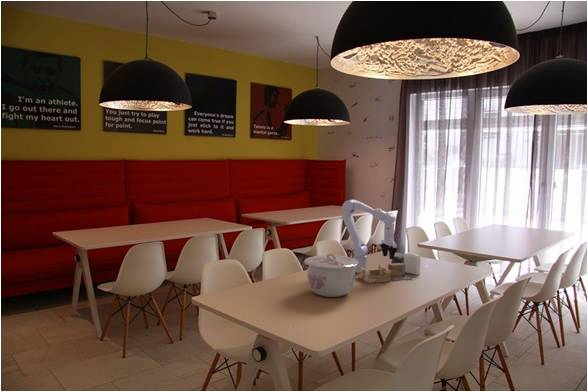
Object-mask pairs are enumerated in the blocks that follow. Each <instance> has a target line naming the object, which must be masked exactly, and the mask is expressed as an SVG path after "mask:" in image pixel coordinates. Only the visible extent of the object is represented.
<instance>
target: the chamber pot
mask: <svg viewBox="0 0 588 392" xmlns="http://www.w3.org/2000/svg"><path fill="white" fill-rule="evenodd" d="M303 263H304V264H305V265H307V266H308V268H307V269H306V277H307V283H308V285H309V286H310V289H311V290H312V292H313V293H314V294H316V295H318V296H320V297H325V298H339V297H342V296H346V295H347V294H348V293H349V292H350V290H351V289H352V288H353V286H354V283H355V279H356V272H355V270H354V268H353V267H355V266H356V265H358V261H357V260H355V259H353V257H348V256H344V255H337V254H333V253H332V252H331V253H328V254H320V255H314V256H310V257H306V258H305V259H304V261H303Z"/></svg>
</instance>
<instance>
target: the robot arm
mask: <svg viewBox="0 0 588 392" xmlns="http://www.w3.org/2000/svg"><path fill="white" fill-rule="evenodd" d="M341 208H342V210H341V211H342V214H341V217H342V220H343V222H344V225H345V227H346V229H347V232H348V235H349V237H350V239H351V242H352V249H353V255H354V256H353V257H352V259H355V260H357V261H358V265H356V266H355V267H353V268H354V270H355V274H356V273H357V274H359V267H361V268H363V269H365V270H367V269H368V268H367V265H368V264H367V262H368V256H367V254H368V253H369V248H368V246H367V245H366V244H365V242H364V241H363V240H362V238H361V236H360V234H359V231H358V229H357V227H356V224H355V222H354V219H353V214H354V212H355V211H356V210H361V211H363V212H366V213H368V214H369V215H372V217H373V218H375V219H376V220H379V221H380V222H383V224H384V227H383V231H384V232H383V239H382V240H381V241H380V242H381V243H380V245H379V246H380V249H381V251H382V256H383V257H388V258H389V260H392V259H394V255H395V254H397V251H398V250H399V249H398V247H397V246H398V245H397V243H396V241H395V222H396V221H397V220H396V216H395V215H394V214H392V213H389V211H388V212H387V211H384V210H382V208H373V207H371V206H369V205H367V204H365V203H363V202H362V201H359V200H356V199H354V198H353V199H350V200H345V201H344V202H343V204H342V205H341Z"/></svg>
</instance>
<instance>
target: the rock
mask: <svg viewBox="0 0 588 392" xmlns="http://www.w3.org/2000/svg"><path fill="white" fill-rule="evenodd" d="M404 255H405V253H404V252H398V253H397V252H396V253H395V255H394V259H391V263H390V264H393V263H403V264H404Z"/></svg>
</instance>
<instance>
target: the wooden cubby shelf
mask: <svg viewBox="0 0 588 392" xmlns="http://www.w3.org/2000/svg"><path fill="white" fill-rule="evenodd" d="M358 277H359V279H361V280H363V281H365V282H367V283H368V284H375V282H376V283H386V282H387V281H388V282H391V279H390V277H391V271H390V270H388V268H386V267H384V266H382V265H378V267H377V269H369V270H365V269H363V268H361V267H359V273H358Z"/></svg>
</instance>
